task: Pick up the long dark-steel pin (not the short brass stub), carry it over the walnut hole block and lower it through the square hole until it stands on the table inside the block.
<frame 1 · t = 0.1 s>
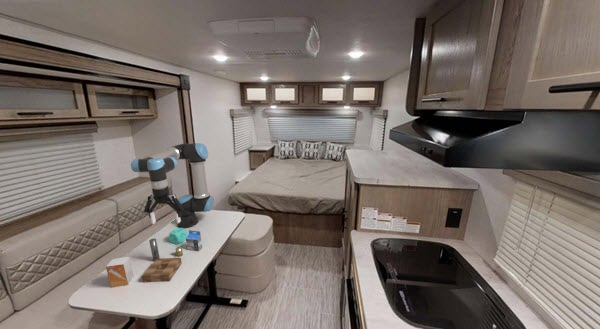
hand: (166, 222, 124), 28 cm above the table, fingers open, 13 cm apart
small box: (123, 282, 119), on the table
label tape cartridge: (194, 249, 146), on the table
hole block: (163, 272, 125), on the table
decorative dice: (179, 241, 155), on the table
long pin: (156, 260, 136), on the table
short pin: (179, 255, 140), on the table
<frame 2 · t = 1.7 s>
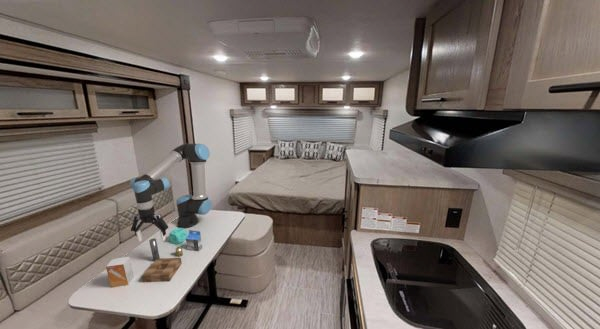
hand: (152, 240, 132), 14 cm above the table, fingers open, 13 cm apart
nothing on the table moved.
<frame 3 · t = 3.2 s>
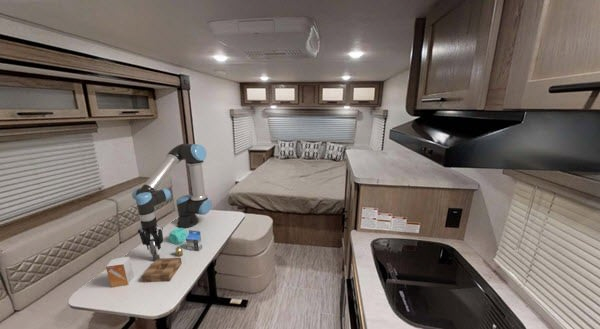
hand: (155, 253, 134), 5 cm above the table, fingers closed on long pin, 3 cm apart
long pin: (156, 260, 136), on the table, touching gripper
everything else where it was.
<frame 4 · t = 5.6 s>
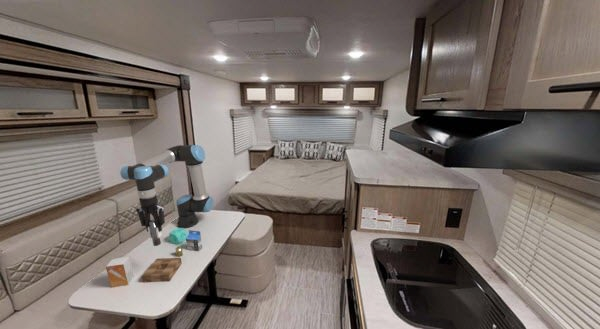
hand: (155, 236, 120), 23 cm above the table, fingers closed on long pin, 3 cm apart
long pin: (157, 244, 121), point 18 cm above the table, touching gripper
everything else where it was.
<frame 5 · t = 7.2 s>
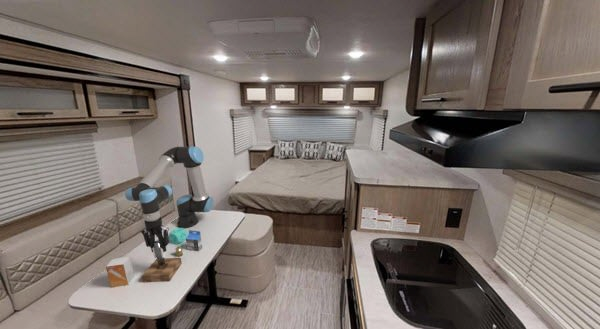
hand: (160, 256, 123), 11 cm above the table, fingers closed on long pin, 3 cm apart
long pin: (161, 263, 124), point 6 cm above the table, touching gripper
everything else where it was.
when the fingers open (6 cm above the table, at t = 8.3 s): long pin drops 1 cm, resting in hole block.
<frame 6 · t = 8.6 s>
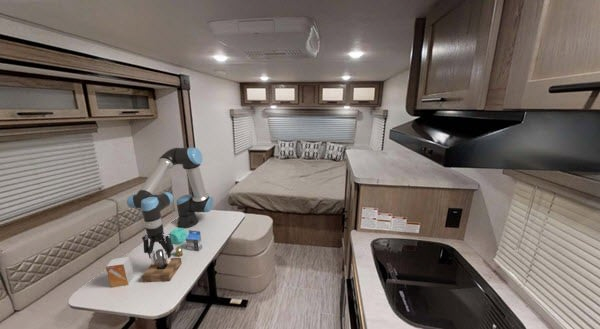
hand: (161, 262, 124), 7 cm above the table, fingers open, 7 cm apart
long pin: (163, 272, 125), resting in hole block
everything else where it was.
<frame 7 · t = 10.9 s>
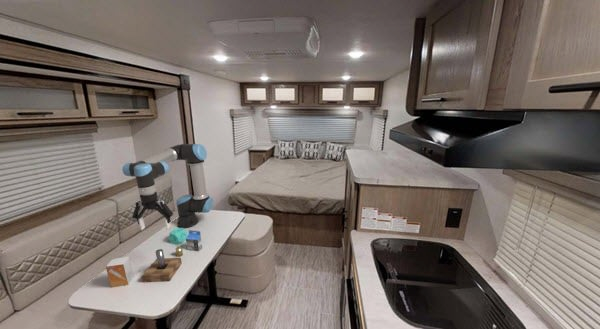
hand: (155, 228, 123), 26 cm above the table, fingers open, 13 cm apart
nothing on the table moved.
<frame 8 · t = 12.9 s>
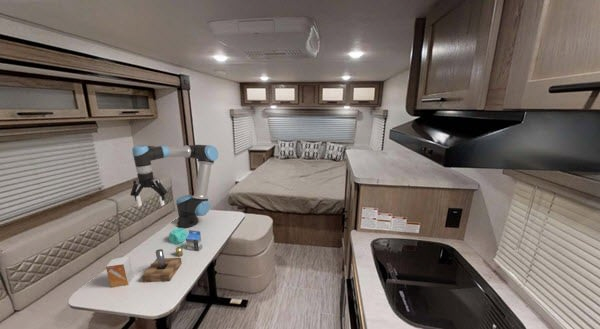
hand: (151, 205, 135), 33 cm above the table, fingers open, 13 cm apart
nothing on the table moved.
at the end: long pin 0.0 cm off-centre on the hole block, point 0.0 cm above the hole block's base; long pin tilted 0°; the gripper is holding nothing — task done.
